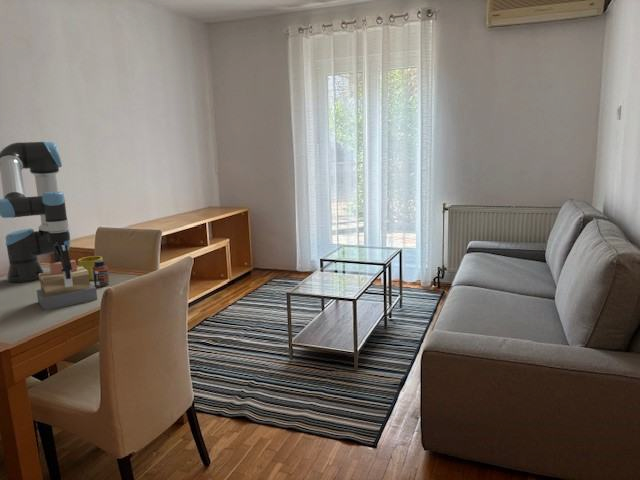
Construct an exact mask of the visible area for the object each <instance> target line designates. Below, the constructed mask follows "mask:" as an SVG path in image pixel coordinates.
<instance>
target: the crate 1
mask: <svg viewBox="0 0 640 480" xmlns="http://www.w3.org/2000/svg"><path fill="white" fill-rule="evenodd" d="M48 264H49V270H50V271H49V272H51V274H52V275H57V274H62V273H63V272H62V269H63V267H62V263H61V262H56V263H55V262H51V263H48Z"/></svg>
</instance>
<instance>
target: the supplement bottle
mask: <svg viewBox="0 0 640 480" xmlns="http://www.w3.org/2000/svg"><path fill="white" fill-rule="evenodd" d="M94 263H95V266H94V267H93V276H94V280H93V282H94V283H93V284H94V287H96V288H102V287H103V288H105V287H106V286H109V285H110V279H109V271H108V266H107V265H106V264H105V260H98V261H95V262H94ZM104 286H105V287H104Z"/></svg>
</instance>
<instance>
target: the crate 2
mask: <svg viewBox="0 0 640 480" xmlns="http://www.w3.org/2000/svg"><path fill="white" fill-rule="evenodd" d="M70 262H71V267H72V269H71V272H74V271H77V267H78V264H77V261H76V260H75V259H70Z"/></svg>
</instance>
